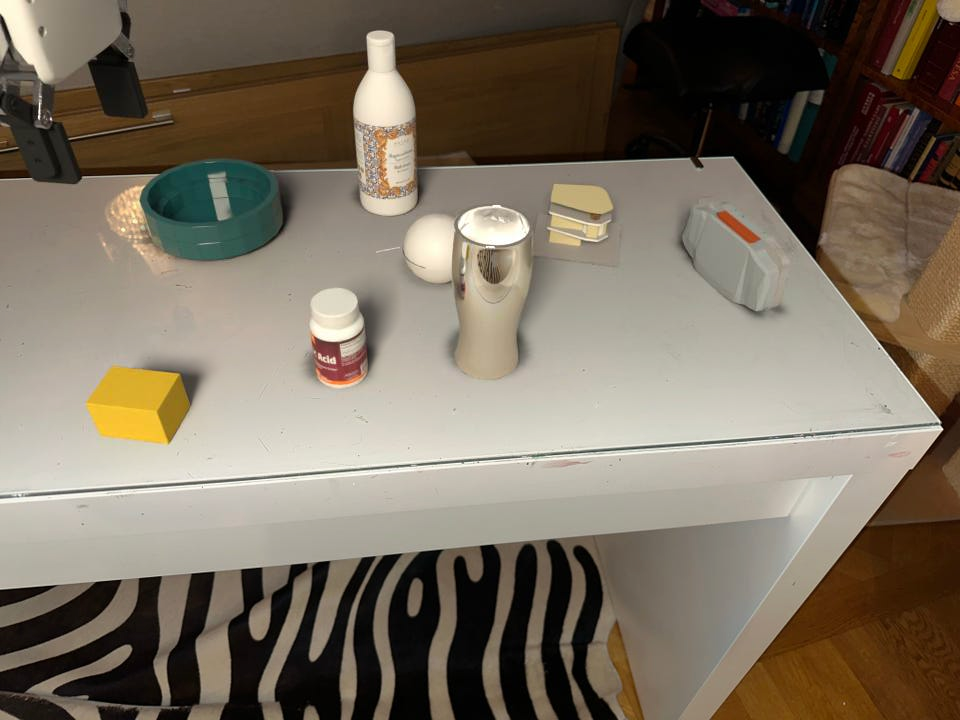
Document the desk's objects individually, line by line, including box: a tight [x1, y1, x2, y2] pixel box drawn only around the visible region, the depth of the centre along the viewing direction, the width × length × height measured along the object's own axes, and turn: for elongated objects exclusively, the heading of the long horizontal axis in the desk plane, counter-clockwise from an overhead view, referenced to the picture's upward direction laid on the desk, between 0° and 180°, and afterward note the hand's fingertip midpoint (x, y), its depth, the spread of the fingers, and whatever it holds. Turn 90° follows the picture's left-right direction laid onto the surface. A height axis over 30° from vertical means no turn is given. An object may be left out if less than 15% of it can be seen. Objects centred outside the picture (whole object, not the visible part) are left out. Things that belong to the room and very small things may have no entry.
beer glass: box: [451, 203, 535, 381], centre depth 67 cm, size 7×7×15 cm
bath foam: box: [352, 30, 419, 217], centre depth 85 cm, size 7×7×20 cm
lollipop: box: [376, 212, 456, 284], centre depth 79 cm, size 10×7×7 cm
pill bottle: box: [308, 287, 369, 389], centre depth 67 cm, size 5×5×8 cm
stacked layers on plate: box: [533, 183, 622, 268], centre depth 85 cm, size 10×9×6 cm
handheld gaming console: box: [681, 195, 791, 312], centre depth 79 cm, size 14×3×8 cm, turn 24°
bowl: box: [139, 157, 284, 262], centre depth 85 cm, size 15×15×5 cm
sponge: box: [85, 365, 191, 445], centre depth 63 cm, size 6×4×4 cm
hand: (95, 146), depth 52 cm, fingers open, 9 cm apart
